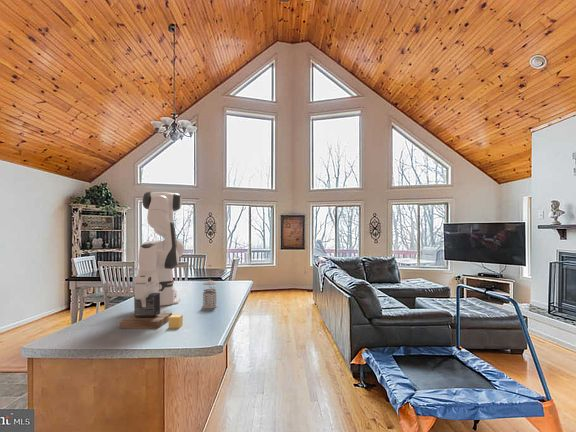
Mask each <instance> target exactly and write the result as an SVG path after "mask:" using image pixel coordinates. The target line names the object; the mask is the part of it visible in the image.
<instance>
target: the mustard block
mask: <svg viewBox="0 0 576 432" xmlns="http://www.w3.org/2000/svg"><path fill="white" fill-rule="evenodd" d="M183 316H184V315H183V314H172V315H171V316H170V317H169V321H168V329H180V328H182V326H183V324H184V323H183V321H184V320H183V319H184V318H183Z"/></svg>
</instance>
